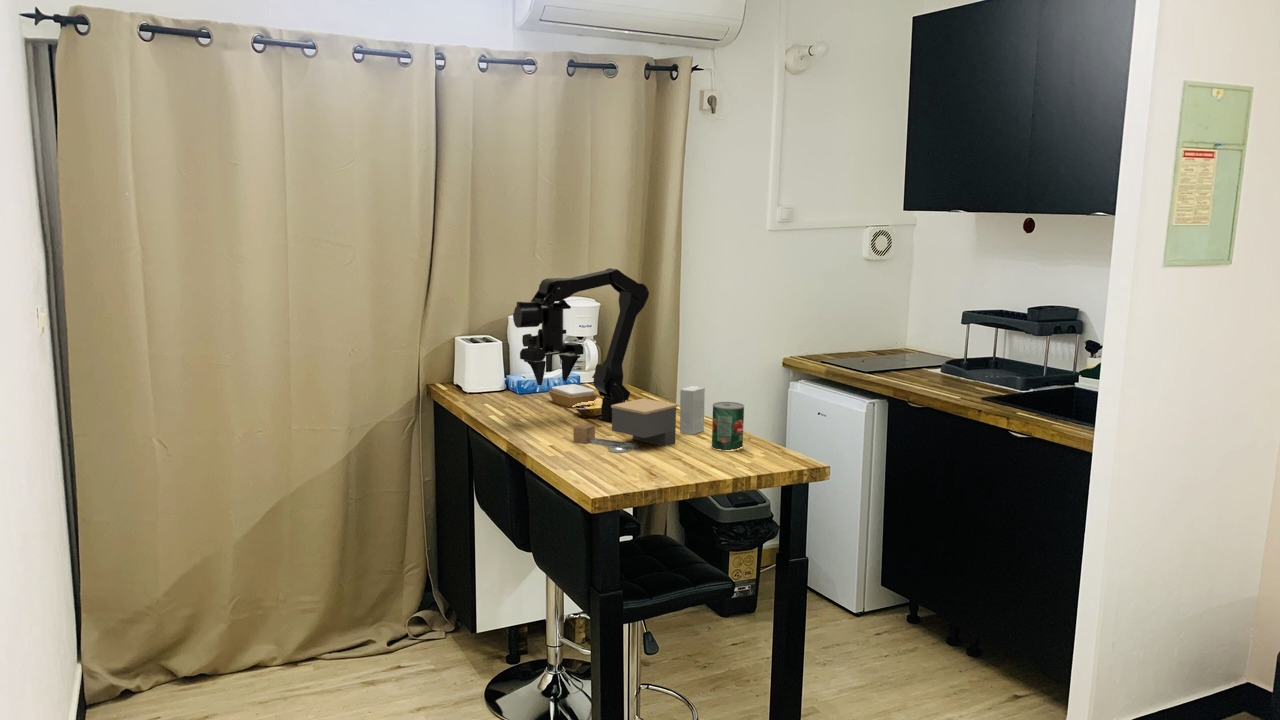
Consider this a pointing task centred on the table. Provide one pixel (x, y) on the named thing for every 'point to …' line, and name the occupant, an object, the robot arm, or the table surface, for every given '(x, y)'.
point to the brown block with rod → (587, 435)
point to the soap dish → (571, 394)
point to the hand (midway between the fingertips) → (552, 383)
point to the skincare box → (692, 410)
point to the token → (618, 448)
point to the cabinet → (646, 420)
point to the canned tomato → (727, 425)
